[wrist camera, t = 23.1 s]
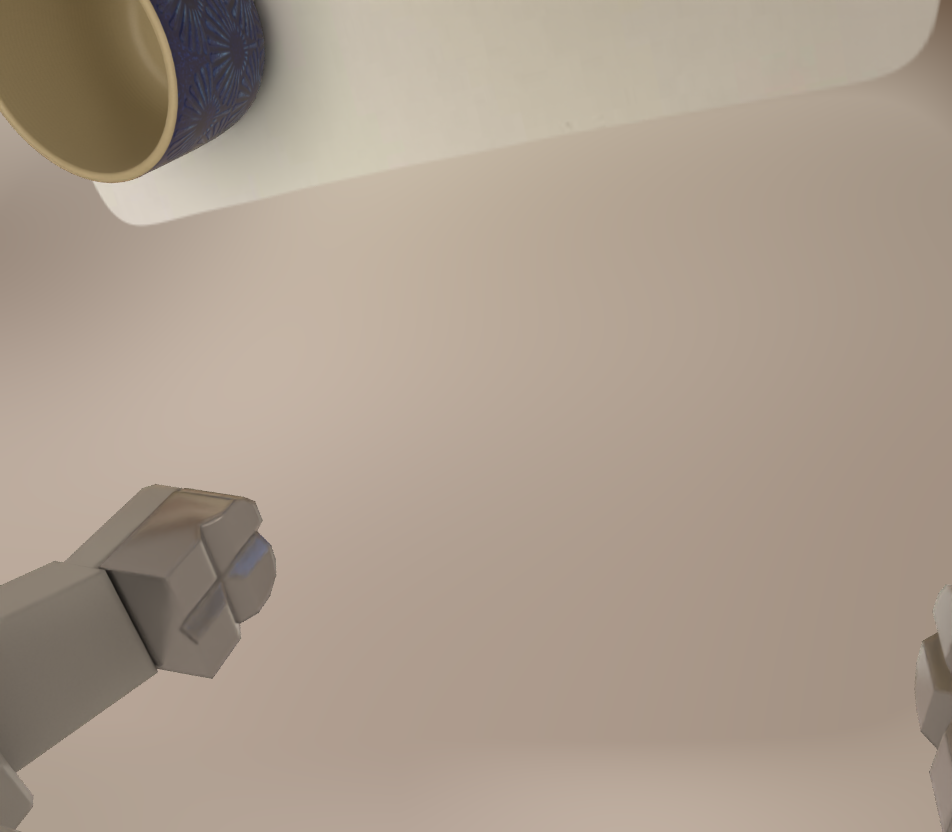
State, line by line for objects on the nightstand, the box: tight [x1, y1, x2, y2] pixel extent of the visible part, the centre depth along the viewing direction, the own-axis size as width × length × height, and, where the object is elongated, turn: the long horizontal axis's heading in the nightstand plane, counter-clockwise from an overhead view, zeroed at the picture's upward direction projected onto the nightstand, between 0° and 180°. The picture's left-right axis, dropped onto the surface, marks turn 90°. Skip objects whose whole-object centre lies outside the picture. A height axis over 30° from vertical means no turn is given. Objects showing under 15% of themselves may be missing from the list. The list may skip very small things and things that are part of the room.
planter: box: [0, 0, 265, 183], centre depth 41 cm, size 12×12×11 cm
